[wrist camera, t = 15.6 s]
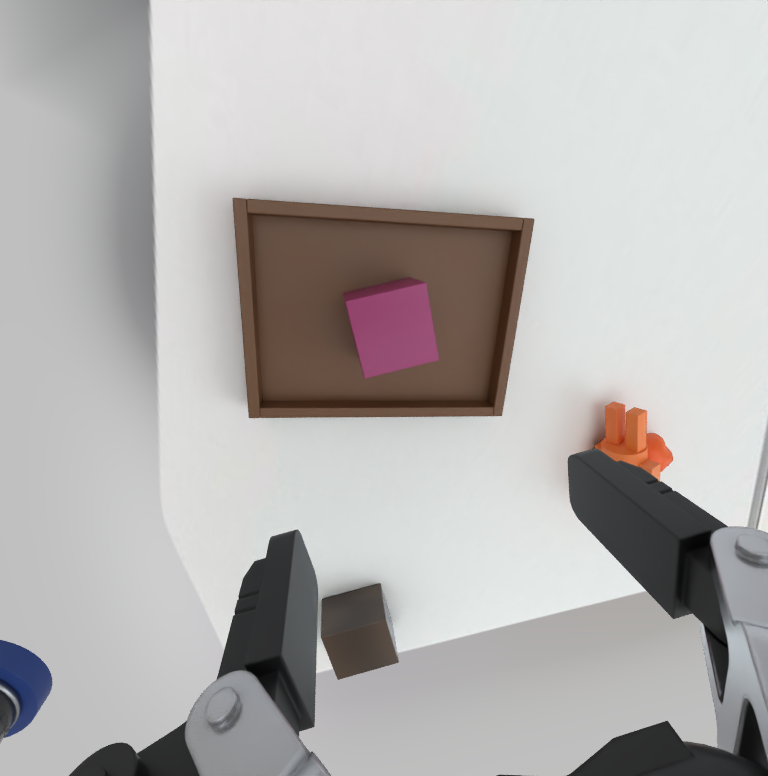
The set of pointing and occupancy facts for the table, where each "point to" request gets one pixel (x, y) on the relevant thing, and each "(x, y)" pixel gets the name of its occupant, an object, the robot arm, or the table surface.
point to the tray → (364, 269)
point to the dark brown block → (358, 631)
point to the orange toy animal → (633, 440)
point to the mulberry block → (392, 326)
